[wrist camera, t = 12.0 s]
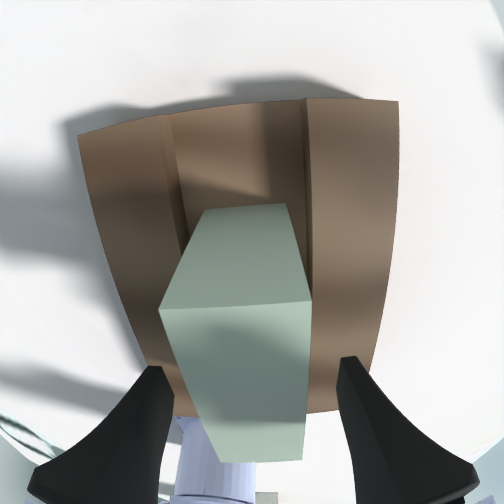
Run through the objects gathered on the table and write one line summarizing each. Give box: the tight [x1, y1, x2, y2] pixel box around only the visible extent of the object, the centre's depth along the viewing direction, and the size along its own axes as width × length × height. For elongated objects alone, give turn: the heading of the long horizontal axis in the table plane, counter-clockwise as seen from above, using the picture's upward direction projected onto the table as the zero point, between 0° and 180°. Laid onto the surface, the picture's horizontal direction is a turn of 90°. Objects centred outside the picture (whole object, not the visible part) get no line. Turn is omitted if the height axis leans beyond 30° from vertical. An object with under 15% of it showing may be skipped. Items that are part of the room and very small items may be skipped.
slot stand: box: [78, 98, 399, 417], centre depth 17 cm, size 20×14×4 cm
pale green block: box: [158, 203, 312, 463], centre depth 13 cm, size 10×4×8 cm, turn 5°
